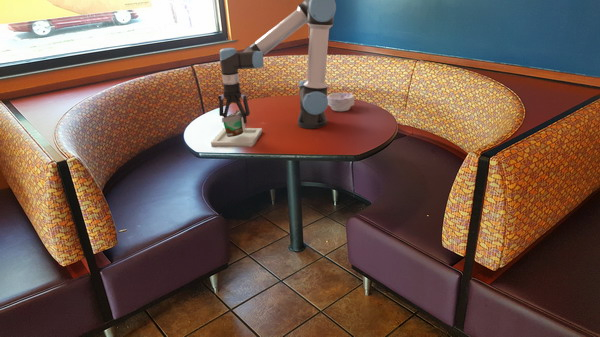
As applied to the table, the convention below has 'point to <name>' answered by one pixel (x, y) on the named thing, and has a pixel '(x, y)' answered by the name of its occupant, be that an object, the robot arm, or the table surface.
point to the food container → (233, 124)
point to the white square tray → (237, 138)
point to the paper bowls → (340, 101)
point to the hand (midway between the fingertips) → (236, 129)
